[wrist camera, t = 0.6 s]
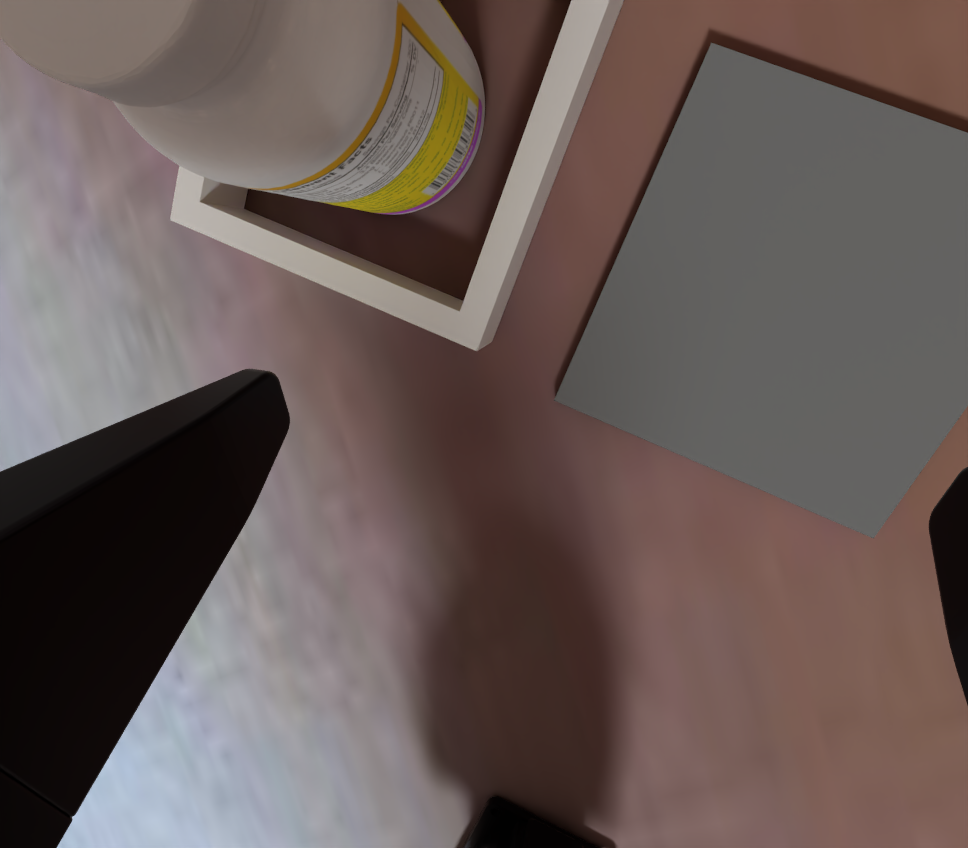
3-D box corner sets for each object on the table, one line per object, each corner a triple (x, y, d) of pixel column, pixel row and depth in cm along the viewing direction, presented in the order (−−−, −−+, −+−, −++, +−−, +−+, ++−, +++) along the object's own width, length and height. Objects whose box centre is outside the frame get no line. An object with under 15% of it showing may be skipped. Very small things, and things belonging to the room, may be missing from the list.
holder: (491, 342, 21) (476, 351, 19) (216, 224, 23) (170, 220, 20) (631, -20, 17) (633, -65, 15) (289, -139, 19) (241, -197, 16)
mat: (867, 532, 20) (873, 538, 20) (555, 397, 21) (553, 400, 21) (1107, 189, 16) (1122, 187, 16) (708, 48, 17) (711, 42, 17)
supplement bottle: (290, 41, 20) (-200, -297, 8) (468, -21, 18) (185, -569, 6) (337, 236, 22) (-17, 198, 10) (505, 195, 20) (334, 86, 8)
